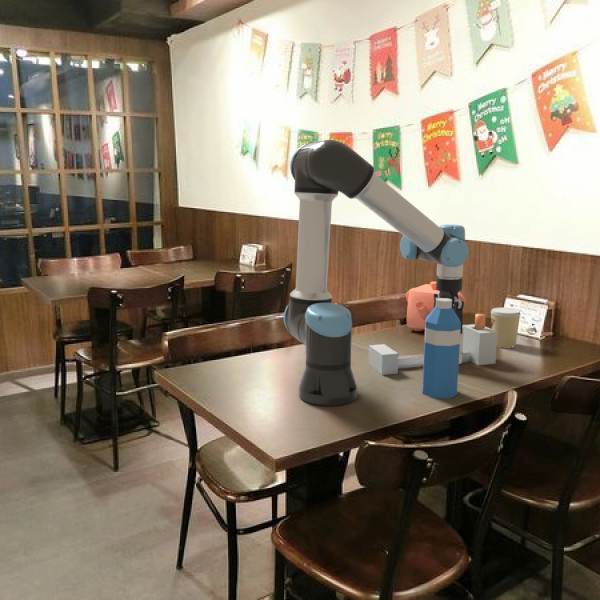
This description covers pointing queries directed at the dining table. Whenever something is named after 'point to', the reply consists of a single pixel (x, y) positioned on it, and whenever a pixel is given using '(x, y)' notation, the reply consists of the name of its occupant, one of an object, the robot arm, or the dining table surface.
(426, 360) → the water bottle
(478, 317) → the button
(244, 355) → the dining table surface
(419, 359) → the rail
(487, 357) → the grey block with recess
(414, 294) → the teapot
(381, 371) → the block
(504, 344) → the coffee cup
